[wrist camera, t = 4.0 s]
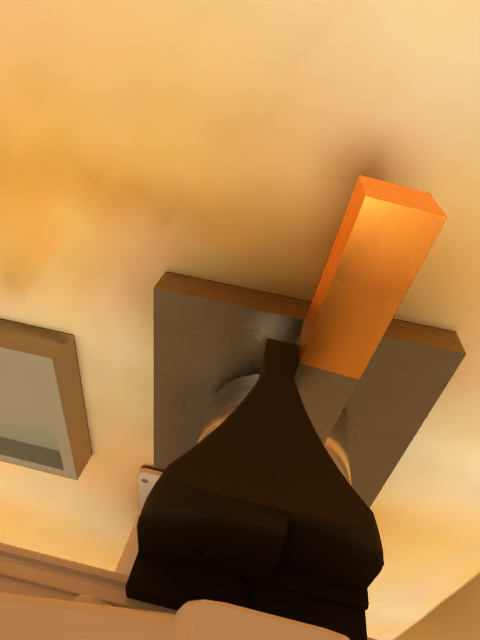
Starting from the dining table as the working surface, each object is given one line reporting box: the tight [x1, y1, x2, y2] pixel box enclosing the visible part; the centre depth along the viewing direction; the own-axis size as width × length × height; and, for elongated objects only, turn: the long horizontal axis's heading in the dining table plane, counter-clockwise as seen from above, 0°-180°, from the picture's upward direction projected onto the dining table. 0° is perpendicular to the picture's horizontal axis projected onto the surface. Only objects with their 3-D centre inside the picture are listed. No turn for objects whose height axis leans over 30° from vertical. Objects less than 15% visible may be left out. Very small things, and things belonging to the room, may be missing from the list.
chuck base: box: [154, 272, 466, 508], centre depth 20 cm, size 13×13×2 cm
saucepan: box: [197, 175, 447, 485], centre depth 14 cm, size 16×7×7 cm, turn 169°
